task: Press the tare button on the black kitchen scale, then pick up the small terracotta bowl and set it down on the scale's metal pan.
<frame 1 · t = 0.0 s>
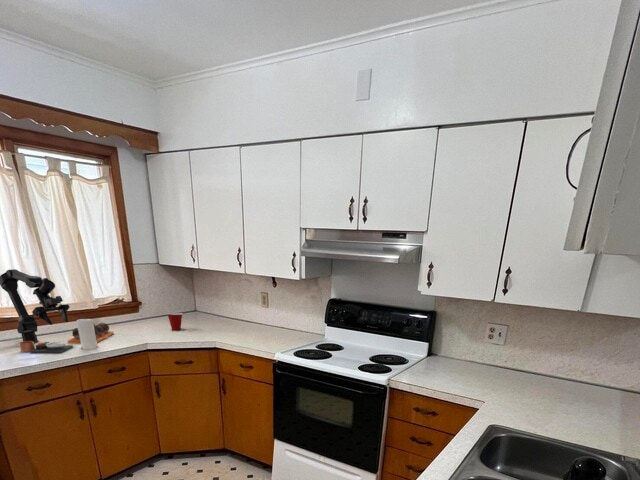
hand: (59, 323, 239), 15 cm above the worktop, tool tilted 35°, fingers open, 9 cm apart
brown piece: (92, 338, 271), on the worktop
tare button: (41, 344, 240), point 3 cm above the worktop, slide at 0.1 cm
scale pan: (52, 344, 241), on the scale, point 3 cm above the worktop
scale: (52, 350, 241), on the worktop
plastic cup: (176, 330, 303), on the worktop
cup: (89, 347, 250), on the worktop
bowl: (28, 351, 239), on the worktop
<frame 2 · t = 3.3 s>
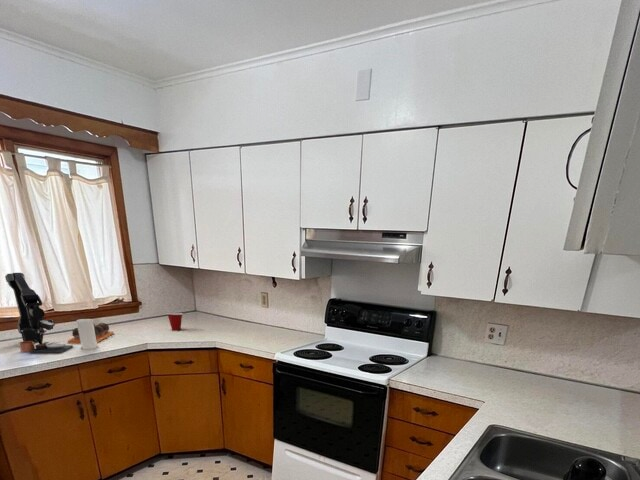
hand: (41, 344, 240), 4 cm above the worktop, tool pointing down, fingers closed, pressing on tare button
tare button: (41, 345, 240), point 3 cm above the worktop, slide at -0.4 cm, touching gripper
everything else where it was.
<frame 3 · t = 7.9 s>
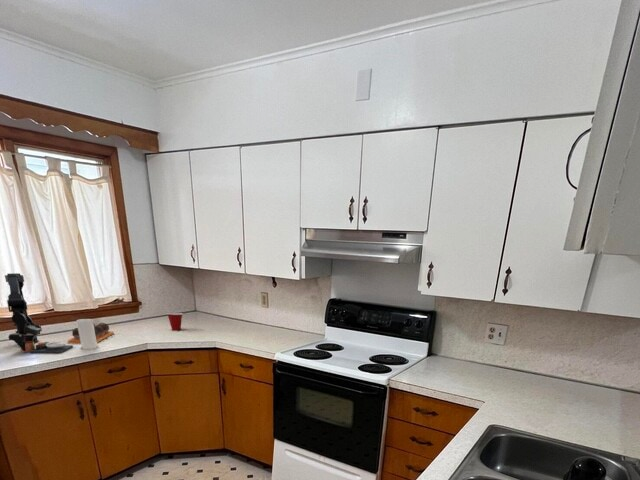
hand: (28, 349, 238), 1 cm above the worktop, tool pointing down, fingers closed on bowl, 7 cm apart
tare button: (41, 344, 240), point 3 cm above the worktop, slide at 0.1 cm
bowl: (28, 351, 239), on the worktop, touching gripper
everything else where it was.
when the fingers open (5 cm above the worktop, at t = 12.5 s): bowl stays where it is, resting on scale pan.
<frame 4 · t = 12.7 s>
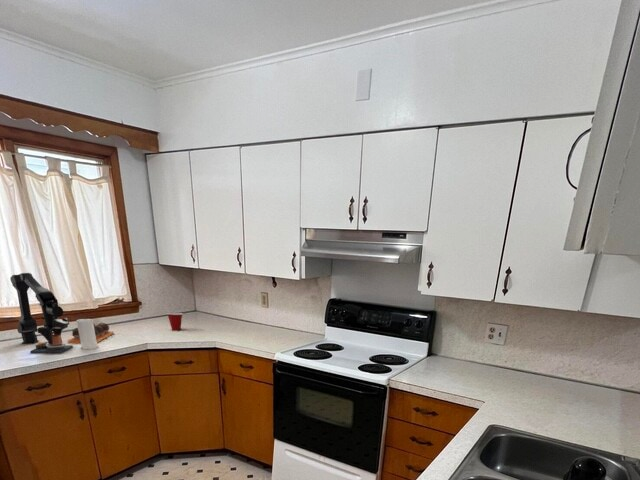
hand: (55, 342, 240), 5 cm above the worktop, tool pointing down, fingers open, 8 cm apart
bowl: (55, 344, 240), point 4 cm above the worktop, touching scale pan
everything else where it was.
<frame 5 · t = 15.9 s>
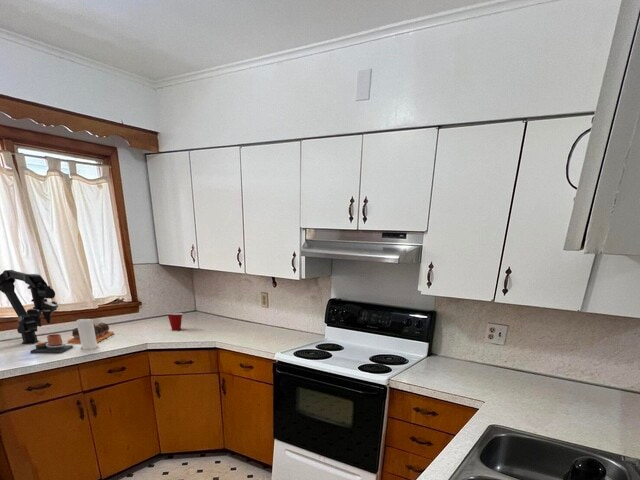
hand: (44, 325, 247), 12 cm above the worktop, tool pointing down, fingers open, 9 cm apart
nothing on the worktop moved.
at the end: tare button pushed in 0.9 cm at the most during the clip, back to where it started at the end; bowl inside the target area on the scale (0.1 cm from its centre), point 3.6 cm above the scale's base; bowl tilted 0° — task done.
